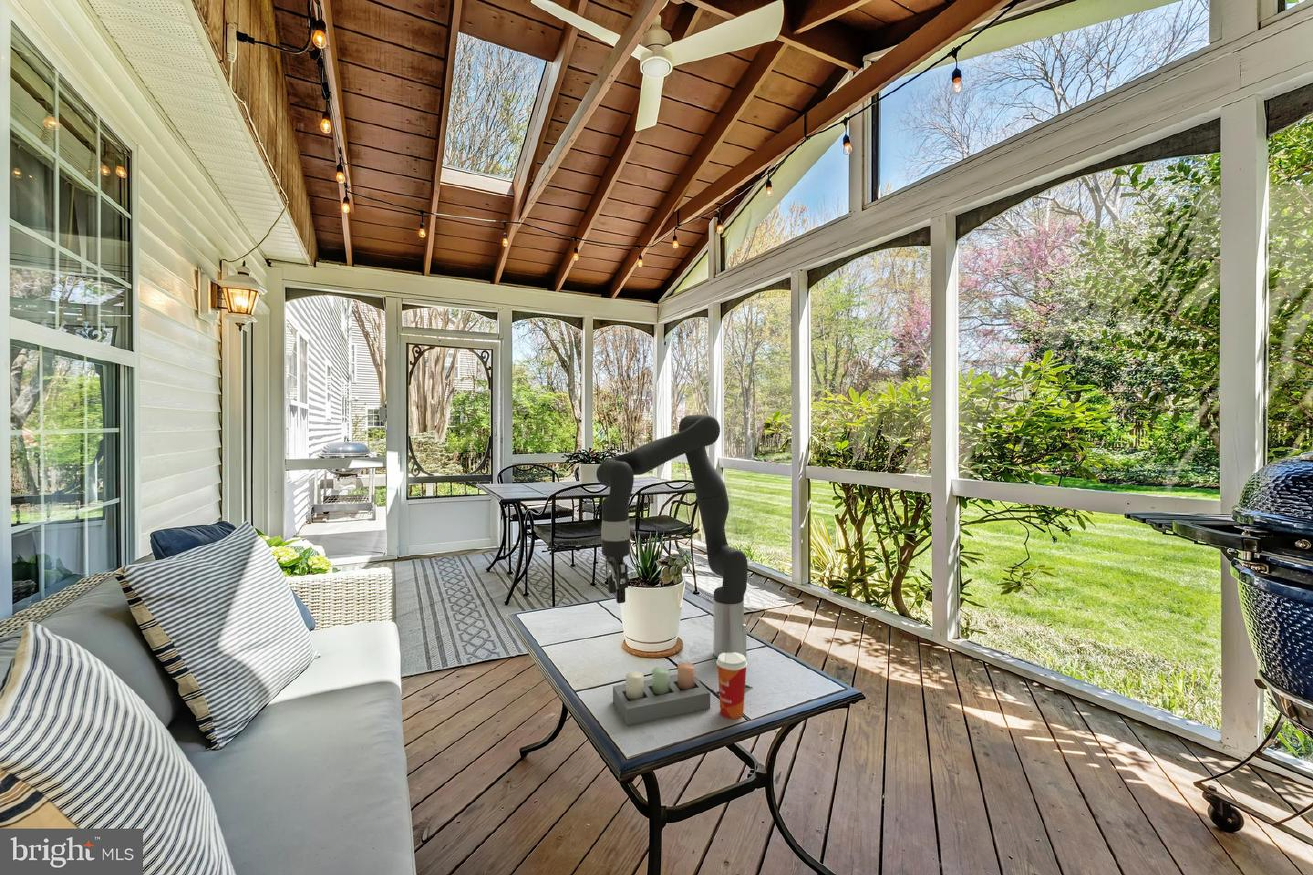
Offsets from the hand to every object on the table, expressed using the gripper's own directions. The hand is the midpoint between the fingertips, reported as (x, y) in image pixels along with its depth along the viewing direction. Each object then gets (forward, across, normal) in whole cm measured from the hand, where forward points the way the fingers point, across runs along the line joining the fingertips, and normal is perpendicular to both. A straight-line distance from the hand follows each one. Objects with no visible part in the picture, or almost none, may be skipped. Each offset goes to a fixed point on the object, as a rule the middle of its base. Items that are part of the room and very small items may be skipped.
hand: (616, 597), depth 147 cm
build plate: (+27, -9, -30) cm, 41 cm away
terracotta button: (+22, -9, -16) cm, 29 cm away
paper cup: (+26, -19, -24) cm, 40 cm away
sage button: (+22, -9, -9) cm, 26 cm away
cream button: (+22, -9, -2) cm, 24 cm away
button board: (+26, -9, -9) cm, 29 cm away
